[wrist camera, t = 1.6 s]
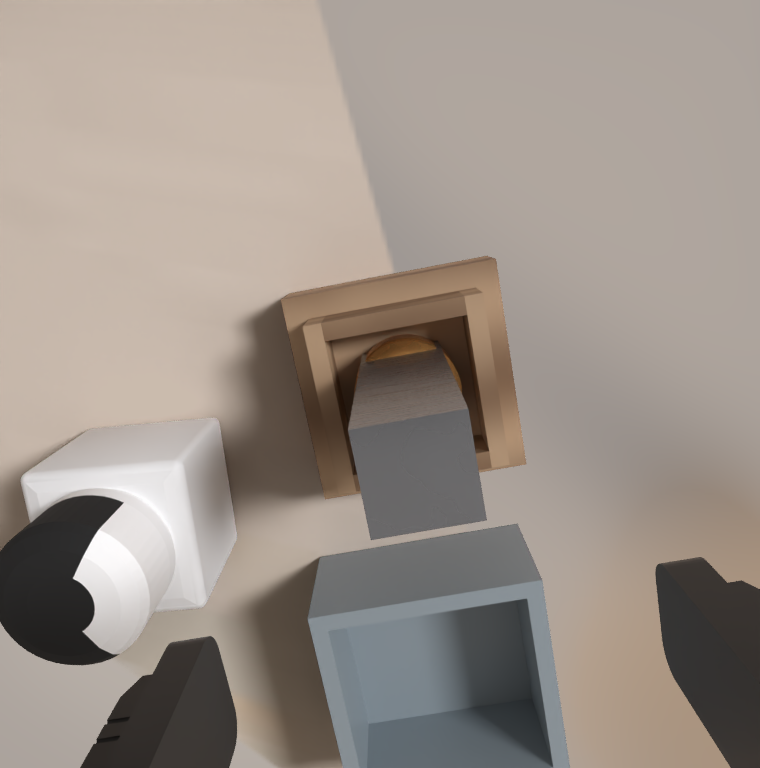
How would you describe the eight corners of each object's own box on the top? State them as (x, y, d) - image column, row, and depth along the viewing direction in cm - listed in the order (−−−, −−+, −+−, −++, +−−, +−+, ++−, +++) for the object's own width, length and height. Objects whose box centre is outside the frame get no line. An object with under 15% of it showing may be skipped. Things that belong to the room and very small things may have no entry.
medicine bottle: (112, 550, 37) (-12, 697, 26) (87, 427, 36) (-58, 525, 24) (239, 539, 37) (172, 682, 26) (220, 414, 36) (139, 507, 24)
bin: (319, 557, 37) (307, 618, 32) (517, 523, 37) (542, 579, 31) (358, 725, 40) (353, 811, 34) (544, 696, 39) (571, 778, 33)
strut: (347, 344, 32) (324, 414, 20) (448, 325, 31) (485, 385, 20) (366, 440, 33) (355, 560, 21) (464, 422, 32) (509, 534, 21)
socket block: (289, 293, 34) (271, 306, 29) (486, 255, 34) (505, 261, 28) (329, 477, 36) (320, 520, 31) (514, 444, 36) (537, 483, 30)
